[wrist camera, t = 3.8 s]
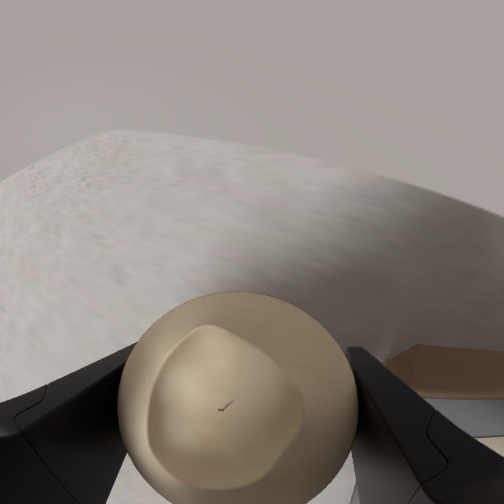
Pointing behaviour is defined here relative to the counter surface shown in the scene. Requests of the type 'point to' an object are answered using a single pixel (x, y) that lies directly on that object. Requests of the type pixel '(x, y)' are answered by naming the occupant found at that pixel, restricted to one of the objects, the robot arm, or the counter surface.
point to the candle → (237, 403)
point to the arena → (457, 389)
